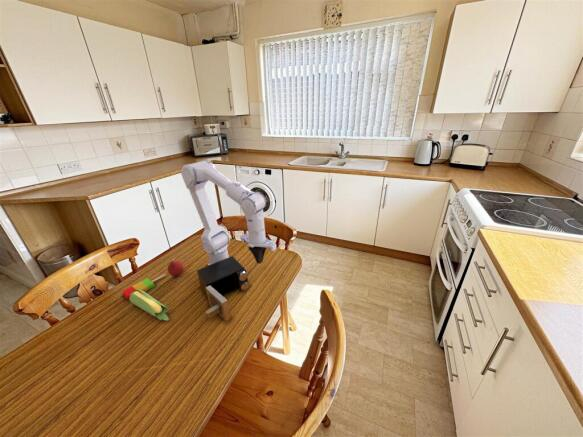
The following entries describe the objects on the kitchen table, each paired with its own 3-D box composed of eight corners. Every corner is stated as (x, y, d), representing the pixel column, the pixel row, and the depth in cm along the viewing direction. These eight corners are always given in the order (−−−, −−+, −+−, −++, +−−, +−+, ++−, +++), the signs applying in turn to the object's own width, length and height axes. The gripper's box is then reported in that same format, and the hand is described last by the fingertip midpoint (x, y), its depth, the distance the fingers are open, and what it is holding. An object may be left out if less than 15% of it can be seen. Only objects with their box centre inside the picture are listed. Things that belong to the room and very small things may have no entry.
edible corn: (142, 294, 87) (138, 284, 85) (176, 315, 77) (172, 305, 76) (127, 303, 83) (123, 293, 81) (161, 327, 74) (157, 316, 72)
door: (214, 329, 72) (209, 311, 69) (198, 312, 78) (193, 294, 75) (230, 318, 76) (226, 299, 72) (213, 302, 82) (209, 285, 79)
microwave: (249, 288, 88) (247, 270, 85) (213, 306, 80) (209, 288, 77) (235, 272, 97) (232, 255, 94) (201, 287, 89) (196, 270, 86)
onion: (179, 281, 93) (175, 264, 90) (167, 279, 94) (161, 263, 91) (188, 272, 98) (184, 255, 95) (176, 270, 99) (171, 254, 96)
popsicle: (122, 295, 87) (120, 291, 86) (162, 273, 98) (161, 270, 97) (129, 301, 84) (127, 297, 83) (169, 278, 95) (168, 274, 94)
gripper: (232, 228, 81) (237, 261, 87) (265, 239, 74) (269, 274, 80) (246, 220, 86) (250, 252, 92) (278, 229, 79) (281, 263, 85)
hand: (259, 261), depth 86 cm, fingers closed
